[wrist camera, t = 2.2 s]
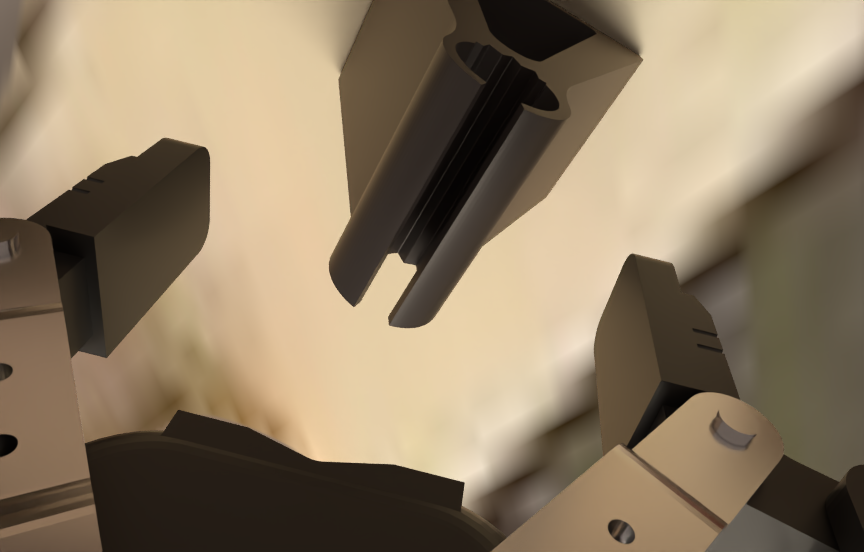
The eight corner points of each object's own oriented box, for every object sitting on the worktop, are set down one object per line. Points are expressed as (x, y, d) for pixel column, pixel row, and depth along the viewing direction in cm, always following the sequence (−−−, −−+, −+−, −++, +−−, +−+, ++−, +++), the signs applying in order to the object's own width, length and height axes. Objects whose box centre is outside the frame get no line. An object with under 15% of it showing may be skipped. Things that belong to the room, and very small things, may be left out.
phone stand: (642, 57, 23) (705, 214, 13) (545, 193, 26) (535, 403, 16) (412, -86, 22) (283, -34, 12) (340, 75, 25) (191, 222, 15)
